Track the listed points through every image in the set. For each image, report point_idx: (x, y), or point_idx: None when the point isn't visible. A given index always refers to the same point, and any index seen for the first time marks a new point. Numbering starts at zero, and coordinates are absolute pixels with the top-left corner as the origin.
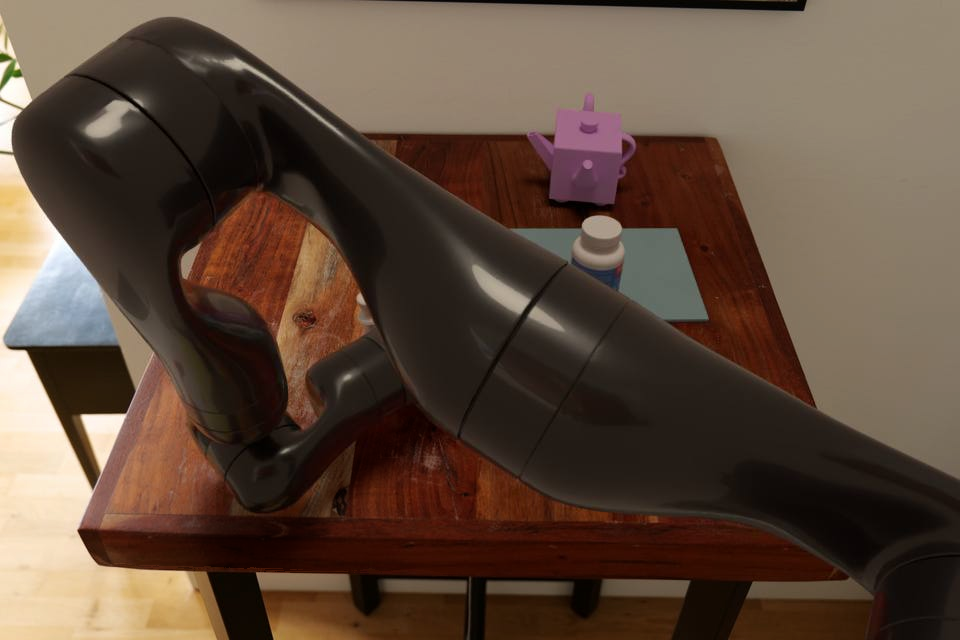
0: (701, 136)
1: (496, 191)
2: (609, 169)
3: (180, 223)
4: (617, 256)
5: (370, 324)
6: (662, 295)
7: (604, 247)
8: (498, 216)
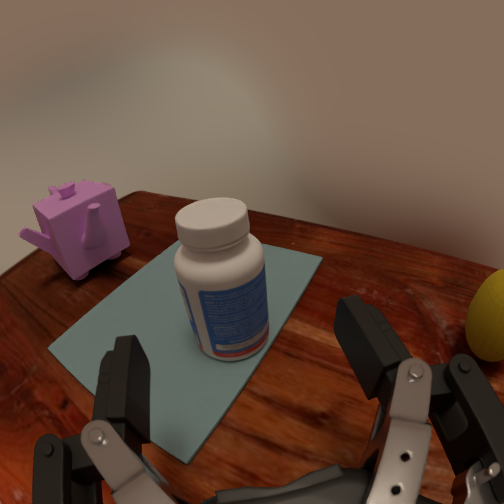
0: (132, 192)
1: (26, 310)
2: (110, 211)
3: None
4: (257, 240)
5: None
6: (269, 271)
7: (244, 233)
8: (43, 331)
